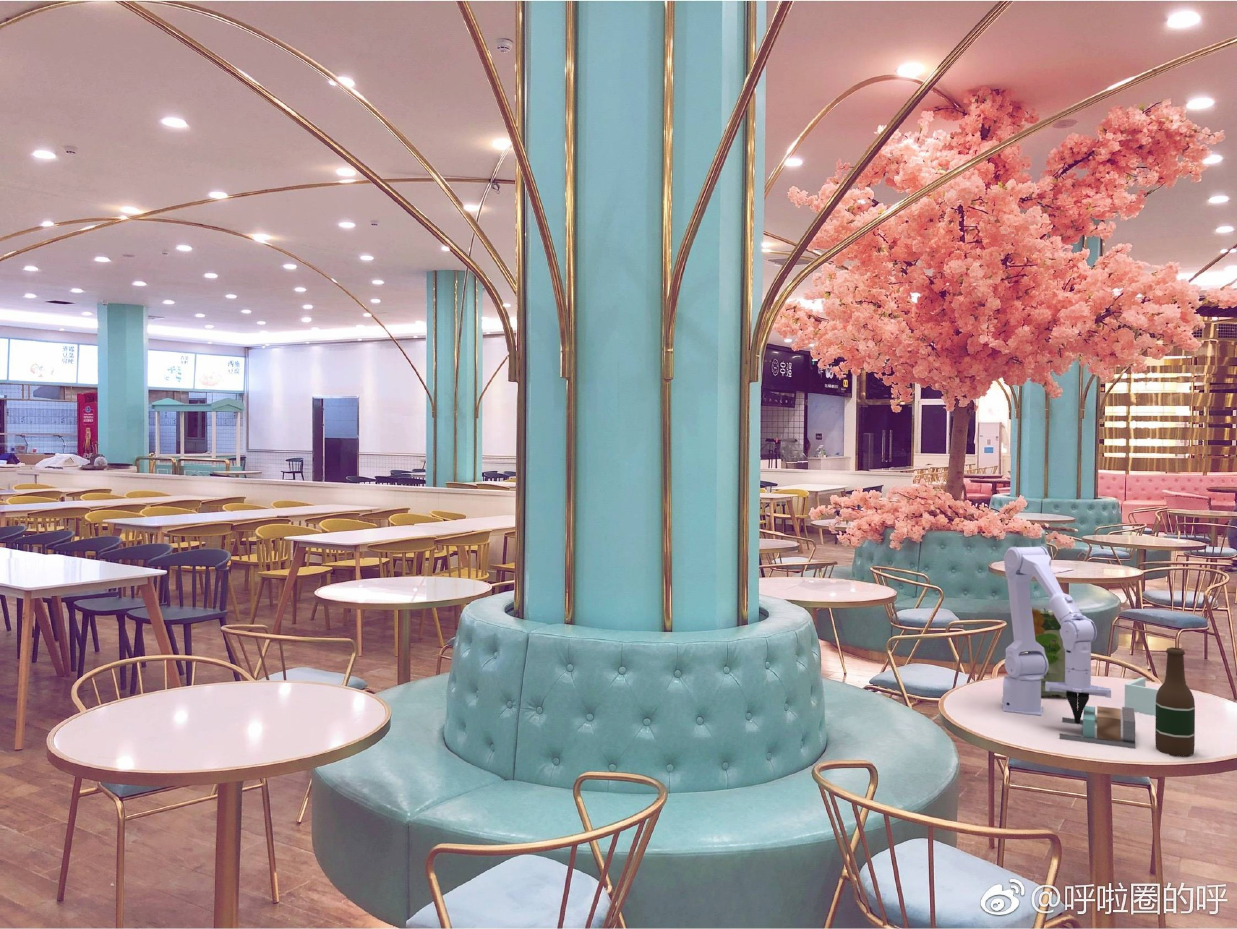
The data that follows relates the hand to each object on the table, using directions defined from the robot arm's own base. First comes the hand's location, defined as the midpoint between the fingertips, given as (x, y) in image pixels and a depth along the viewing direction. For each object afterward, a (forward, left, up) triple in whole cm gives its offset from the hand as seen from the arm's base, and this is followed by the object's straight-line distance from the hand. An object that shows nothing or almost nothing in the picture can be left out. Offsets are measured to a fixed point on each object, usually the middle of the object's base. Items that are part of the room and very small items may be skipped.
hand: (1077, 722), depth 229 cm
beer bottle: (+20, -6, -3) cm, 21 cm away
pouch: (-9, +35, -3) cm, 36 cm away
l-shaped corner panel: (+18, +32, -3) cm, 37 cm away
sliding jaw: (+3, 0, -2) cm, 3 cm away
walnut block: (+7, 0, -2) cm, 7 cm away
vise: (+3, 0, -2) cm, 4 cm away
